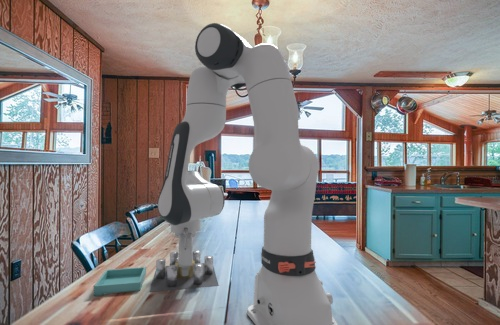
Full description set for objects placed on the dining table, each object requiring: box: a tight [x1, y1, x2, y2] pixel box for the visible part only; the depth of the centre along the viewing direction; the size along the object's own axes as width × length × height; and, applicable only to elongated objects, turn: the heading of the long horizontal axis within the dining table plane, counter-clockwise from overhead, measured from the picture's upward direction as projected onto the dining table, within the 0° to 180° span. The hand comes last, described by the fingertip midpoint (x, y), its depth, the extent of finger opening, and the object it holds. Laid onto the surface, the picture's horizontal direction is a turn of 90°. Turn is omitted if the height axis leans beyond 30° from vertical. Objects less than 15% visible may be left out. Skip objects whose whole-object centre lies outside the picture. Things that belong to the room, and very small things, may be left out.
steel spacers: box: [155, 249, 214, 287], centre depth 80 cm, size 15×17×5 cm
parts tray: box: [93, 266, 147, 297], centre depth 75 cm, size 11×11×2 cm
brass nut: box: [175, 260, 195, 279], centre depth 80 cm, size 6×5×4 cm
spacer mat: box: [149, 262, 220, 293], centre depth 80 cm, size 18×18×1 cm
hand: (185, 270), depth 80 cm, fingers closed on brass nut, 5 cm apart
